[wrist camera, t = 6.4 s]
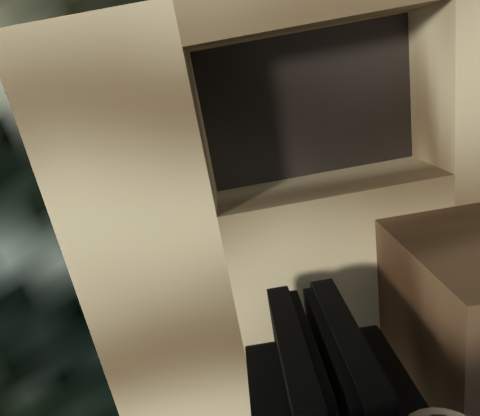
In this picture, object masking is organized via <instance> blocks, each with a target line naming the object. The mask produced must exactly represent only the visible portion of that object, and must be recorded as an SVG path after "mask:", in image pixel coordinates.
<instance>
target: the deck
mask: <svg viewBox="0 0 480 416" xmlns="http://www.w3.org/2000/svg"><path fill="white" fill-rule="evenodd" d="M0 78H1V81H2V84H3V86H4V89H5V92H6V95H7V98H8V101H9V103H10V106H11V109H12V112H13V115H14V118H15V120H16V123H17V126H18V129H19V132H20V135H21V138H22V140H23V143H24V146H25V149H26V152H27V155H28V157H29V160H30V163H31V166H32V169H33V172H34V174H35V177H36V180H37V183H38V186H39V189H40V191H41V194H42V197H43V200H44V203H45V206H46V208H47V211H48V214H49V217H50V220H51V223H52V226H53V228H54V231H55V234H56V237H57V240H58V243H59V245H60V248H61V251H62V254H63V257H64V260H65V262H66V265H67V268H68V271H69V274H70V277H71V279H72V282H73V285H74V288H75V291H76V294H77V297H78V299H79V302H80V305H81V308H82V311H83V314H84V316H85V319H86V322H87V325H88V328H89V331H90V333H91V336H92V339H93V342H94V345H95V348H96V350H97V353H98V356H99V359H100V362H101V365H102V367H103V370H104V373H105V376H106V379H107V382H108V385H109V387H110V390H111V393H112V396H113V399H114V402H115V404H116V407H117V410H118V413H119V416H251V408H250V397H249V386H248V375H247V364H246V353H245V346H249V345H256V344H262V343H268V342H274V335H273V328H272V322H271V315H270V309H269V303H268V296H267V289H270V288H276V287H282V286H288V288H289V291H293V290H297V291H298V294H299V297H300V300H301V303H302V305H303V308H304V311H305V305H304V297H303V289H305V288H310V282H312V281H318V280H324V279H330V278H331V279H333V281H334V283H335V285H336V286H337V288H338V290H339V292H340V294H341V295H342V297H343V299H344V301H345V303H346V305H347V306H348V308H349V310H350V312H351V314H352V315H353V317H354V319H355V321H356V323H357V325H358V326H359V327H365V326H371V325H376V326H378V327H379V329H380V313H379V293H378V273H377V252H376V232H375V220H376V219H382V218H388V217H394V216H400V215H406V214H412V213H418V212H424V211H430V210H436V209H442V208H448V207H455V206H461V205H467V204H473V203H479V202H480V0H148V1H142V2H137V3H131V4H126V5H121V6H115V7H110V8H104V9H99V10H93V11H88V12H83V13H77V14H72V15H66V16H61V17H56V18H50V19H45V20H39V21H34V22H29V23H23V24H18V25H12V26H7V27H1V28H0ZM305 314H306V313H305Z"/></svg>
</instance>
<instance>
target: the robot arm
mask: <svg viewBox="0 0 480 416" xmlns="http://www.w3.org/2000/svg"><path fill="white" fill-rule="evenodd" d="M267 296H268V303H269V309H270V315H271V322H272V328H273V335H274V342H268V343H262V344H256V345H249V346H245V353H246V364H247V375H248V386H249V397H250V408H251V416H466V415H464V414H462V413H460V412H457V411H453V410H450V409H447V408H437V407H430V408H429V406H428V404H427V403H426V401H425V400H424V398H423V396H422V395H421V393H420V392H419V390H418V389H417V387H416V385H415V384H414V382H413V381H412V379H411V377H410V376H409V374H408V373H407V371H406V369H405V368H404V366H403V365H402V363H401V362H400V360H399V358H398V357H397V355H396V354H395V352H394V350H393V349H392V347H391V346H390V344H389V343H388V341H387V339H386V338H385V336H384V335H383V333H382V331H381V330H380V329H379V327H378V326H376V325H371V326H365V327H359V326H358V325H357V323H356V321H355V319H354V317H353V315H352V314H351V312H350V310H349V308H348V306H347V305H346V303H345V301H344V299H343V297H342V295H341V294H340V292H339V290H338V288H337V286H336V285H335V283H334V281H333V279H331V278H330V279H324V280H318V281H312V282H310V288H305V289H303V297H304V305H305V311H304V308H303V305H302V303H301V300H300V297H299V294H298V291H297V290H293V291H289V288H288V286H282V287H276V288H270V289H267ZM305 313H306V314H305Z"/></svg>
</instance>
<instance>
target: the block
mask: <svg viewBox="0 0 480 416" xmlns="http://www.w3.org/2000/svg"><path fill="white" fill-rule="evenodd" d="M375 232H376V252H377V273H378V293H379V313H380V330H381V331H382V333H383V335H384V336H385V338H386V339H387V341H388V343H389V344H390V346H391V347H392V349H393V350H394V352H395V354H396V355H397V357H398V358H399V360H400V362H401V363H402V365H403V366H404V368H405V369H406V371H407V373H408V374H409V376H410V377H411V379H412V381H413V382H414V384H415V385H416V387H417V389H418V390H419V392H420V393H421V395H422V396H423V398H424V400H425V401H426V403H427V404H428V406H429V408H430V407H437V408H447V409H450V410H453V411H457V412H460V413H462V414H464V415H466V416H480V202H479V203H473V204H467V205H461V206H455V207H448V208H442V209H436V210H430V211H424V212H418V213H412V214H406V215H400V216H394V217H388V218H382V219H376V220H375Z"/></svg>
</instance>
